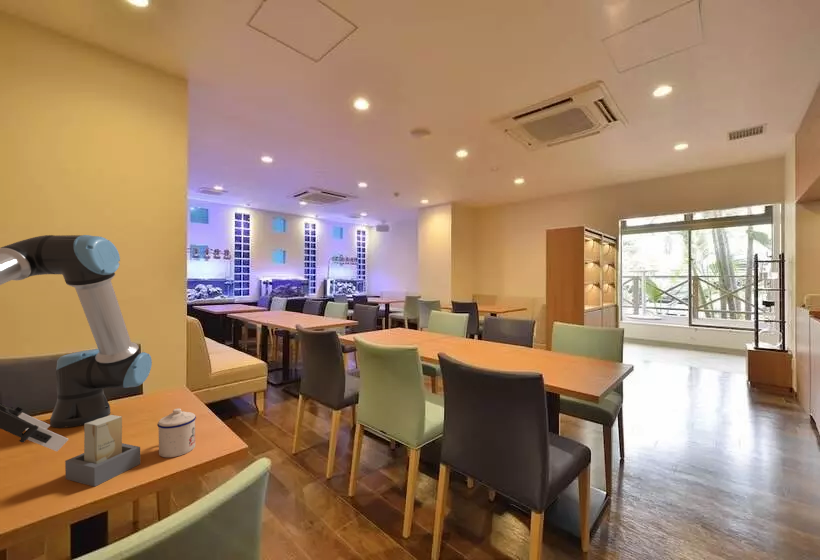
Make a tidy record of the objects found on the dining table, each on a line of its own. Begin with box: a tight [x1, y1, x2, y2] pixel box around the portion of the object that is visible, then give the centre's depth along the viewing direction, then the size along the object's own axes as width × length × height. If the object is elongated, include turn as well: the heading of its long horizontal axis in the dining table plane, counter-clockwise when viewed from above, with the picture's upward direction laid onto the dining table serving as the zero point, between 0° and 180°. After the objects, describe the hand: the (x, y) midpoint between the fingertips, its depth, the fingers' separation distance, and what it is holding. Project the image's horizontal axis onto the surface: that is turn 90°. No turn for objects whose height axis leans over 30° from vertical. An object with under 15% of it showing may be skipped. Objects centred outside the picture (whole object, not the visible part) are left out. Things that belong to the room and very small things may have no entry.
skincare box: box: [83, 414, 123, 464], centre depth 89 cm, size 6×4×12 cm
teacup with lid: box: [157, 408, 197, 458], centre depth 101 cm, size 12×9×12 cm
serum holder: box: [64, 442, 141, 488], centre depth 89 cm, size 10×10×4 cm
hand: (53, 437), depth 81 cm, fingers open, 13 cm apart
